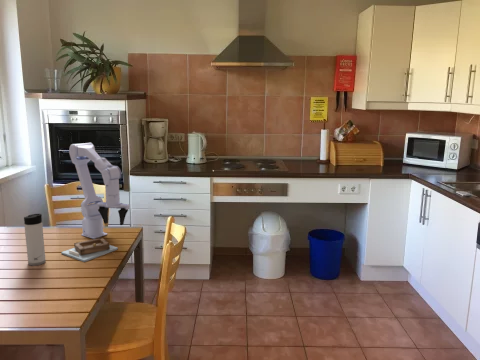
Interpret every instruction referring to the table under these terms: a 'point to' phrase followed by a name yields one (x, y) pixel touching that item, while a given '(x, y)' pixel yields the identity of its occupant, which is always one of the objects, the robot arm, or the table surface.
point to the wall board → (87, 257)
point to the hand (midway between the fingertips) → (114, 223)
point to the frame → (91, 246)
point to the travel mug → (34, 239)
